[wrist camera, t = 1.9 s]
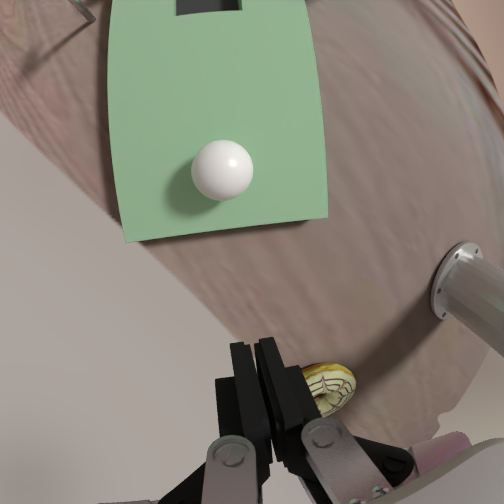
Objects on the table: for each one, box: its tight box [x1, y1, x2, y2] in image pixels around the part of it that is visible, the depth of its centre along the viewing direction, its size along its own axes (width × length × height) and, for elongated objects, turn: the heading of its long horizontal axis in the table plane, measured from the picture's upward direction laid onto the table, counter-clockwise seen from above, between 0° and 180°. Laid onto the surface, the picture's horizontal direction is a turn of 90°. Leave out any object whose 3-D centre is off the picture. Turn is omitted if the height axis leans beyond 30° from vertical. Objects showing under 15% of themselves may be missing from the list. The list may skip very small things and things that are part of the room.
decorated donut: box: [302, 363, 356, 417], centre depth 33 cm, size 10×11×4 cm
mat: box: [107, 0, 328, 243], centre depth 18 cm, size 18×30×5 cm, turn 5°
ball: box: [191, 140, 253, 201], centre depth 19 cm, size 4×4×4 cm
